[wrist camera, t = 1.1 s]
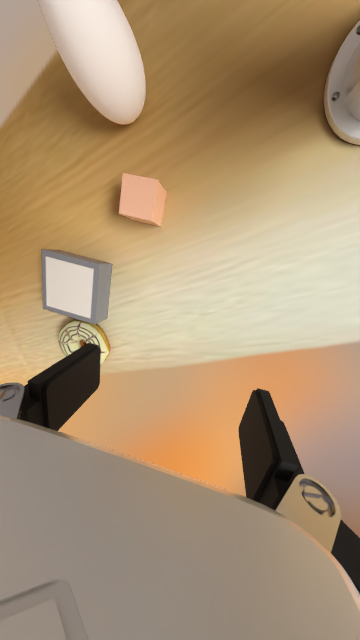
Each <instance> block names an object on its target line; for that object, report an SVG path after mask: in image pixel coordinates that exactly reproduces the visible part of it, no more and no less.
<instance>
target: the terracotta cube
mask: <svg viewBox="0 0 360 640" xmlns="http://www.w3.org/2000/svg"><path fill="white" fill-rule="evenodd" d="M166 195H167V192H166V191H165V189H164V188H163V187H162V185H161V184H160V183H159V181H158V180H156V179H151V178H146V177H141V176H136V175H131V174H126V173H123V177H122V187H121V197H120V207H119V214H121V215H123V216H125V217H127V218H129V219H131V220H134V221H138V222H142V223H147V224H151V225H156V226H160V227H161V224H162V218H163V212H164V206H165V201H166Z"/></svg>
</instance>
